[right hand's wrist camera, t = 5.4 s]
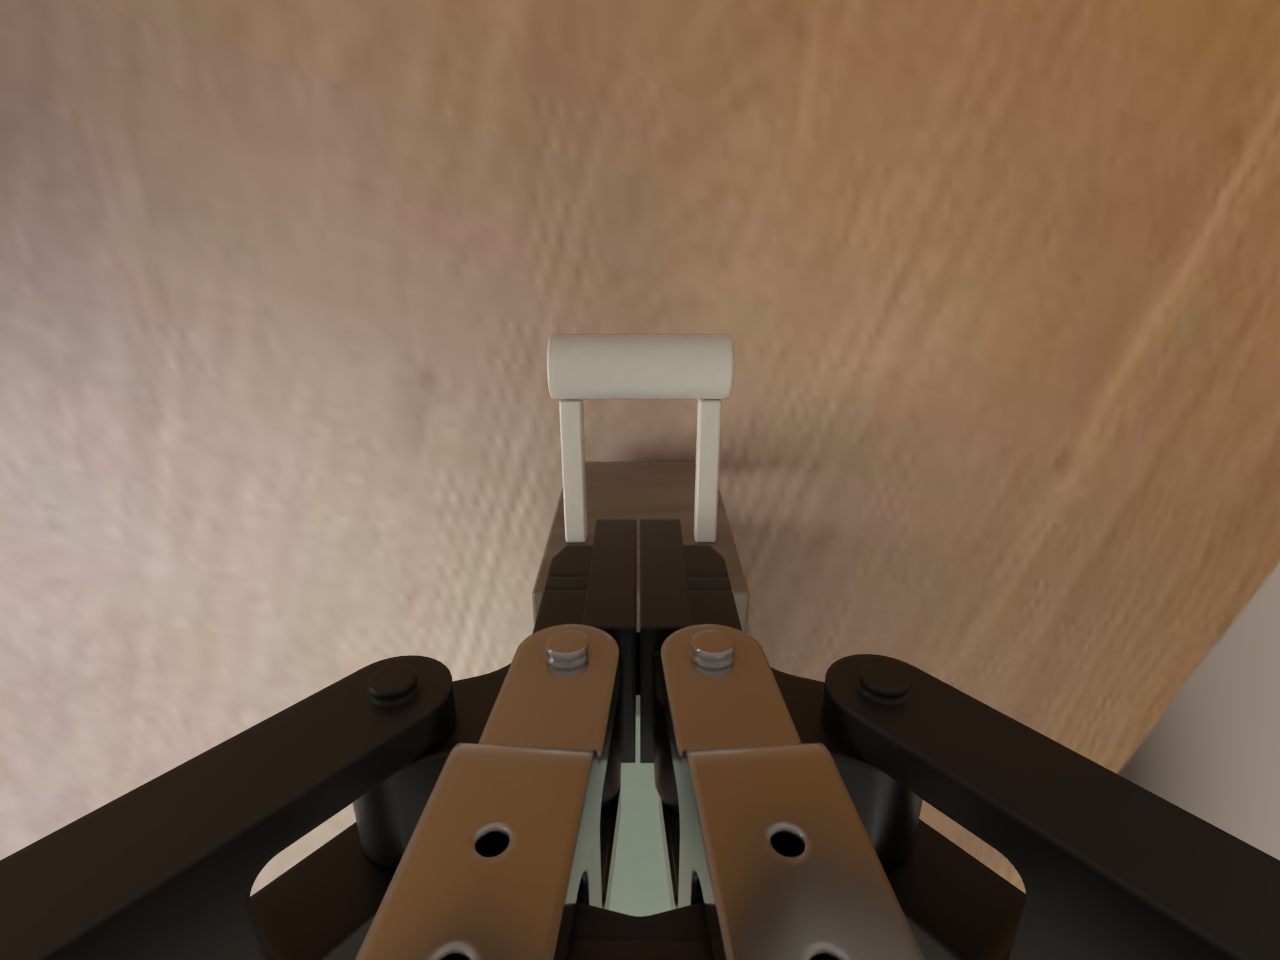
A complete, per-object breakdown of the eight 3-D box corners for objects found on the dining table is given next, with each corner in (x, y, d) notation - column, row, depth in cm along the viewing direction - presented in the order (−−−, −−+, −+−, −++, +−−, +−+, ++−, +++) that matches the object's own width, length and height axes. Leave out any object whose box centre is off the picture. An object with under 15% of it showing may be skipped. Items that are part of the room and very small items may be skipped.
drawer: (563, 304, 24) (515, 357, 15) (717, 303, 24) (765, 357, 15) (585, 835, 33) (563, 1073, 24) (697, 836, 33) (719, 1073, 24)
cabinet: (559, 522, 28) (508, 716, 17) (721, 521, 28) (773, 715, 17) (577, 880, 35) (549, 1175, 24) (705, 880, 35) (734, 1175, 24)
